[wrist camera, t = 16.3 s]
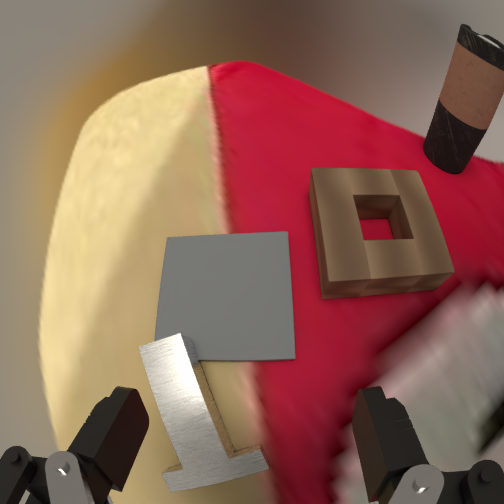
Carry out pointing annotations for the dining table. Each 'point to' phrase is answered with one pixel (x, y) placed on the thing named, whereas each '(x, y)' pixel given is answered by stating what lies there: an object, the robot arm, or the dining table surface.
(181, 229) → the dining table surface
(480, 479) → the robot arm
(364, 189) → the socket block
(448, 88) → the travel mug
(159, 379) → the t key
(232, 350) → the grey mat
